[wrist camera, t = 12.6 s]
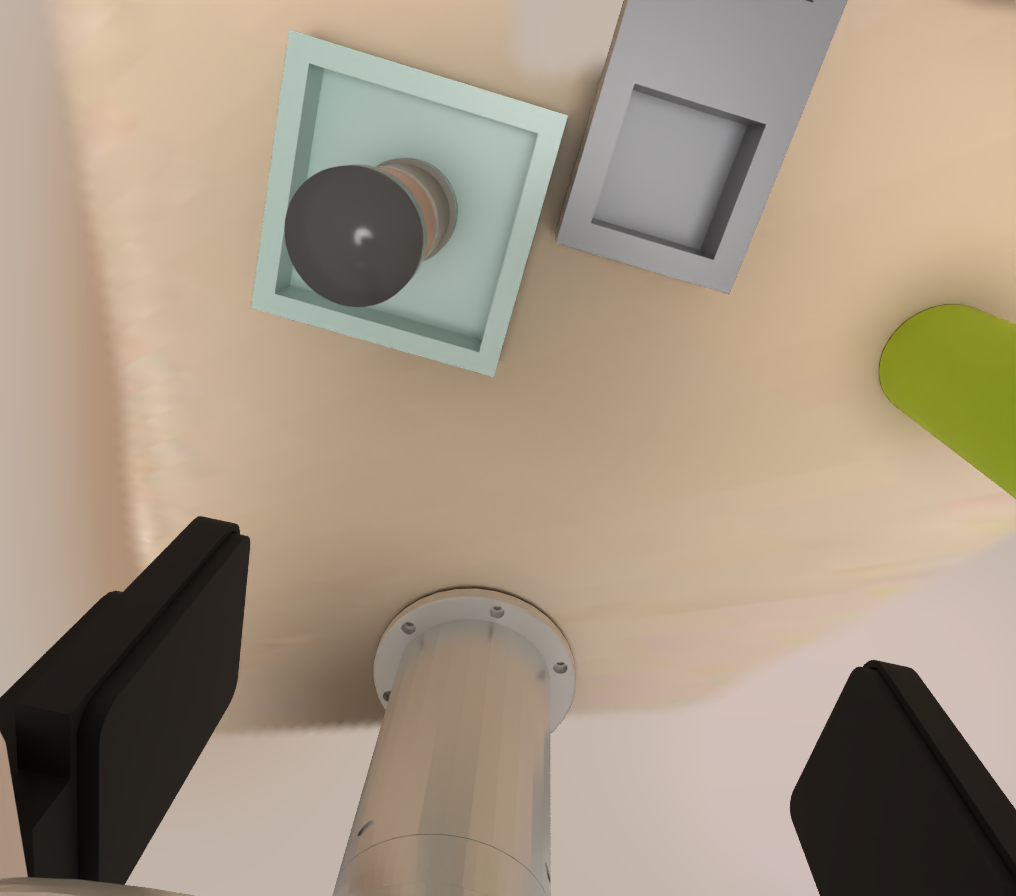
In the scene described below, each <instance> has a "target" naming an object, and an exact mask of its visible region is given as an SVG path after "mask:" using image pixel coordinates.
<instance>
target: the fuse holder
mask: <svg viewBox="0 0 1016 896" xmlns="http://www.w3.org/2000/svg"><path fill="white" fill-rule="evenodd" d="M846 3H847V0H624V1H623V5H622V8H621V12H620V15H619V18H618V22H617V25H616V29H615V32H614V35H613V39H612V42H611V46H610V49H609V52H608V56H607V59H606V62H605V66H604V69H603V73H602V76H601V79H600V83H599V86H598V89H597V93H596V96H595V100H594V103H593V106H592V110H591V113H590V117H589V120H588V123H587V127H586V130H585V133H584V137H583V140H582V144H581V147H580V150H579V154H578V157H577V161H576V164H575V167H574V171H573V174H572V177H571V181H570V184H569V188H568V191H567V194H566V198H565V201H564V205H563V208H562V211H561V215H560V218H559V221H558V225H557V228H556V232H555V235H556V243H558V244H561V245H564V246H568V247H571V248H575V249H578V250H581V251H585V252H588V253H591V254H595V255H598V256H602V257H605V258H608V259H612V260H615V261H618V262H622V263H625V264H628V265H632V266H635V267H639V268H642V269H645V270H649V271H652V272H655V273H659V274H662V275H666V276H669V277H672V278H676V279H679V280H682V281H686V282H689V283H692V284H696V285H699V286H703V287H706V288H709V289H713V290H716V291H719V292H723V293H726V294H729V293H730V291H731V288H732V286H733V283H734V281H735V278H736V276H737V273H738V271H739V268H740V266H741V263H742V261H743V258H744V256H745V253H746V251H747V249H748V246H749V244H750V241H751V239H752V236H753V234H754V231H755V229H756V226H757V224H758V221H759V219H760V216H761V214H762V211H763V209H764V206H765V204H766V201H767V199H768V196H769V194H770V191H771V189H772V186H773V184H774V182H775V179H776V177H777V174H778V172H779V169H780V167H781V164H782V162H783V159H784V157H785V154H786V152H787V149H788V147H789V144H790V142H791V139H792V137H793V134H794V132H795V129H796V127H797V124H798V122H799V119H800V117H801V114H802V112H803V110H804V107H805V105H806V102H807V100H808V97H809V95H810V92H811V90H812V87H813V85H814V82H815V80H816V77H817V75H818V72H819V70H820V67H821V65H822V62H823V60H824V57H825V55H826V52H827V50H828V47H829V45H830V42H831V40H832V38H833V35H834V33H835V30H836V28H837V25H838V23H839V20H840V18H841V15H842V13H843V10H844V8H845V5H846Z"/></svg>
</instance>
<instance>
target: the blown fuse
mask: <svg viewBox="0 0 1016 896" xmlns="http://www.w3.org/2000/svg"><path fill="white" fill-rule="evenodd" d="M457 219H458V204H457V199H456V195H455V192H454V190H453V188H452V186H451V184H450V182H449V181H448V179H447V178H446V177H445V175H444V174H443V173H442V172H441V171H440V170H439V169H437V168H436V167H434V166H433V165H431V164H429V163H428V162H425V161H423V160H419V159H415V158H399V159H392V160H388V161H385V162H382V163H381V164H379V165H377V166H375V167H373V166H369V165H361V164H354V165H344V166H337V167H332V168H328V169H325V170H322V171H320V172H318V173H316V174H314V175H313V176H311V177H310V178H309V179H307V180H306V181H305V182H304V183H303V184H302V185H301V186H300V187H299V188H298V190H297V191H296V193H295V194H294V196H293V198H292V200H291V201H290V204H289V207H288V209H287V213H286V218H285V227H284V232H285V242H286V248H287V251H288V254H289V257H290V260H291V262H292V264H293V266H294V268H295V270H296V271H297V273H298V274H299V276H300V277H301V278H302V280H303V281H304V282H305V283H306V284H307V285H308V286H309V287H310V288H311V289H312V290H314V291H315V292H316V293H317V294H319V295H320V296H322V297H323V298H325V299H327V300H329V301H331V302H334V303H337V304H340V305H344V306H349V307H367V306H373V305H376V304H379V303H382V302H384V301H386V300H388V299H390V298H391V297H393V296H394V295H396V294H397V293H398V292H399V291H400V290H401V289H403V288H404V287H405V285H406V284H407V283H408V282H409V281H410V280H411V279H412V278H413V277H414V276H415V274H416V273H417V271H418V269H419V268H420V266H421V263H422V261H425V260H427V259H429V258H431V257H432V256H434V255H435V254H437V253H438V252H439V251H440V250H441V249H442V248H443V247H444V246H445V245H446V244H447V242H448V241H449V240H450V238H451V236H452V235H453V232H454V230H455V227H456V224H457Z"/></svg>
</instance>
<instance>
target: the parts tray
mask: <svg viewBox="0 0 1016 896" xmlns="http://www.w3.org/2000/svg"><path fill="white" fill-rule="evenodd" d="M567 118H568V115H565V114H562V113H558V112H555V111H552V110H549V109H545V108H542V107H539V106H536V105H532V104H529V103H526V102H523V101H519V100H516V99H513V98H510V97H506V96H503V95H500V94H497V93H493V92H490V91H487V90H484V89H480V88H477V87H474V86H471V85H467V84H464V83H461V82H458V81H454V80H451V79H448V78H445V77H441V76H438V75H435V74H432V73H428V72H425V71H422V70H419V69H415V68H412V67H409V66H406V65H402V64H399V63H396V62H393V61H389V60H386V59H383V58H380V57H376V56H373V55H370V54H367V53H363V52H360V51H357V50H354V49H350V48H347V47H344V46H341V45H338V44H334V43H331V42H328V41H325V40H321V39H318V38H315V37H312V36H308V35H305V34H302V33H299V32H295V31H292V30H289V34H288V41H287V48H286V56H285V63H284V70H283V78H282V85H281V92H280V100H279V107H278V114H277V122H276V129H275V136H274V143H273V151H272V158H271V165H270V173H269V180H268V187H267V195H266V202H265V209H264V217H263V224H262V231H261V239H260V246H259V253H258V261H257V268H256V275H255V283H254V290H253V297H252V304H251V308H252V309H255V310H259V311H262V312H266V313H269V314H273V315H277V316H280V317H284V318H287V319H291V320H294V321H298V322H301V323H305V324H308V325H312V326H315V327H319V328H322V329H326V330H329V331H333V332H336V333H340V334H343V335H347V336H350V337H354V338H357V339H361V340H365V341H368V342H372V343H375V344H379V345H382V346H386V347H389V348H393V349H396V350H400V351H403V352H407V353H410V354H414V355H417V356H421V357H424V358H428V359H431V360H435V361H438V362H442V363H446V364H449V365H453V366H456V367H460V368H463V369H467V370H470V371H474V372H477V373H481V374H484V375H488V376H491V377H494V374H495V371H496V367H497V364H498V360H499V357H500V353H501V350H502V346H503V343H504V339H505V336H506V332H507V328H508V325H509V321H510V318H511V314H512V311H513V307H514V304H515V300H516V297H517V293H518V290H519V286H520V283H521V279H522V276H523V272H524V269H525V265H526V262H527V258H528V255H529V251H530V248H531V244H532V241H533V237H534V234H535V230H536V227H537V223H538V219H539V216H540V212H541V209H542V205H543V202H544V198H545V195H546V191H547V188H548V184H549V181H550V177H551V174H552V170H553V167H554V163H555V160H556V156H557V153H558V149H559V146H560V142H561V139H562V135H563V132H564V128H565V125H566V121H567ZM399 158H415V159H419V160H423V161H425V162H428V163H429V164H431V165H433V166H434V167H436V168H437V169H439V170H440V171H441V172H442V173H443V174H444V175H445V177H446V178H447V179H448V181H449V182H450V184H451V186H452V188H453V190H454V192H455V195H456V199H457V204H458V219H457V224H456V227H455V230H454V232H453V235H452V236H451V238H450V240H449V241H448V242H447V244H446V245H445V246H444V247H443V248H442V249H441V250H440V251H439V252H438V253H437V254H435V255H434V256H432V257H431V258H429V259H427V260H425V261H422V263H421V266H420V268H419V269H418V271H417V273H416V274H415V276H414V277H413V278H412V279H411V280H410V281H409V282H408V283H407V284H406V285H405V287H404V288H403V289H401V290H400V291H399V292H398V293H397V294H396V295H394V296H393V297H391V298H390V299H388V300H386V301H384V302H382V303H379V304H376V305H373V306H367V307H349V306H344V305H340V304H337V303H334V302H331V301H329V300H327V299H325V298H323V297H322V296H320V295H319V294H317V293H316V292H315V291H314V290H312V289H311V288H310V287H309V286H308V285H307V284H306V283H305V282H304V281H303V280H302V278H301V277H300V276H299V274H298V273H297V271H296V270H295V268H294V266H293V264H292V262H291V260H290V257H289V254H288V251H287V248H286V242H285V232H284V227H285V218H286V213H287V209H288V207H289V204H290V201H291V200H292V198H293V196H294V194H295V193H296V191H297V190H298V188H299V187H300V186H301V185H302V184H303V183H304V182H305V181H306V180H307V179H309V178H310V177H311V176H313V175H314V174H316V173H318V172H320V171H322V170H325V169H328V168H332V167H337V166H344V165H354V164H361V165H369V166H373V167H375V166H377V165H379V164H381V163H382V162H385V161H388V160H392V159H399Z"/></svg>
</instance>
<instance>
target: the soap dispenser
mask: <svg viewBox="0 0 1016 896" xmlns="http://www.w3.org/2000/svg"><path fill="white" fill-rule="evenodd" d="M879 377H880V383H881V386H882V389H883V391H884V393H885V395H886V396H887V398H888V399H889V400H890V401H891V403H892V404H894V405H895V406H896V407H897V408H899V409H900V410H901V411H902V412H904V413H905V414H906V415H908V416H909V417H910V418H911V419H913V420H914V421H915V422H917V423H918V424H919V425H921V426H922V427H923V428H924V429H926V430H927V431H928V432H930V433H931V434H932V435H934V436H935V437H936V438H937V439H939V440H940V441H941V442H943V443H944V444H945V445H946V446H948V447H949V448H950V449H952V450H953V451H954V452H956V453H957V454H958V455H959V456H961V457H962V458H963V459H965V460H966V461H967V462H969V463H970V464H971V465H972V466H974V467H975V468H976V469H978V470H979V471H980V472H981V473H983V474H984V475H985V476H987V477H988V478H989V479H991V480H992V481H993V482H994V483H996V484H997V485H998V486H1000V487H1001V488H1002V489H1004V490H1005V491H1006V492H1007V493H1009V494H1010V495H1011V496H1013V497H1014V498H1015V499H1016V325H1015V324H1012V323H1010V322H1007V321H1005V320H1002V319H1000V318H997V317H995V316H992V315H990V314H987V313H985V312H982V311H980V310H977V309H975V308H972V307H969V306H964V305H956V304H950V305H941V306H936V307H933V308H929V309H927V310H924V311H922V312H920V313H918V314H916V315H915V316H913V317H911V318H910V319H909V320H907V321H906V322H905V323H904V324H902V325H901V326H900V327H899V328H898V329H897V330H896V331H895V333H894V334H893V335H892V337H891V338H890V339H889V341H888V343H887V344H886V346H885V349H884V351H883V353H882V357H881V360H880V366H879Z"/></svg>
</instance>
